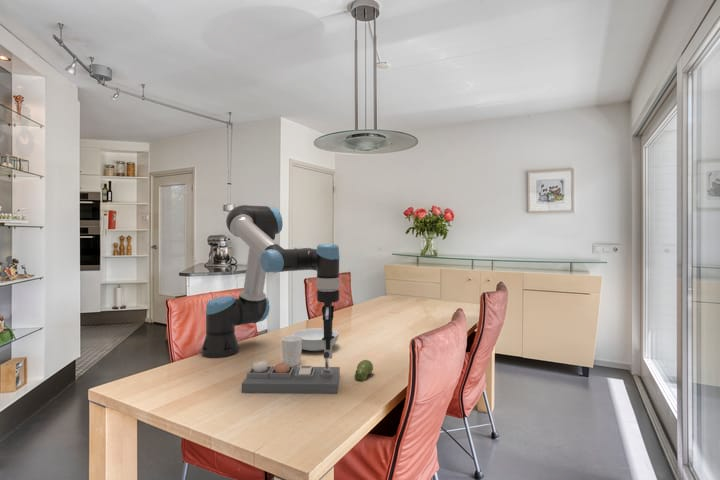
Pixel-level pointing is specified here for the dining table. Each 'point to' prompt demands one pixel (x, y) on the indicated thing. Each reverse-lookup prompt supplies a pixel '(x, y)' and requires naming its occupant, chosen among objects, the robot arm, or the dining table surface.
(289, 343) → the white cup
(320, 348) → the serving bowl
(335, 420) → the dining table surface
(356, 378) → the green rounded piece
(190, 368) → the dining table surface
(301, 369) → the rocker switch
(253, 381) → the switch panel
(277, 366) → the terracotta button
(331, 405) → the dining table surface
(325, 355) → the toggle lever
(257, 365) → the cream button
